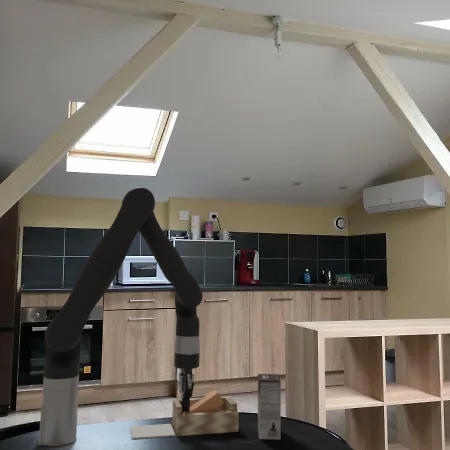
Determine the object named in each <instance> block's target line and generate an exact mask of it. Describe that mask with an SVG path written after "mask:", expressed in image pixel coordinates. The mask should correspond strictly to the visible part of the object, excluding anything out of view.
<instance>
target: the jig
mask: <svg viewBox="0 0 450 450" xmlns="http://www.w3.org/2000/svg"><path fill="white" fill-rule="evenodd" d="M220 397H221V399H222V400H223V402H224V403H223V404H221V405H220V406H219V407H217V408H216V409H214V410H213V411H211V412H206V413H189V414H182V412H183V411H182V398H176V399H175V398H174V399H172V414H171V415H172V420H171V426H172V428H173V430H174V433H175V436H177V437H179V436H180V437H183V436H195V435H209V434H224V433H225V434H226V433H236V432H239V419H240V416H239V414H240V413H239V411H238V402H237V401H235V400H234V399H233V398H232V397H231V396H230V395H229V396H220ZM202 398H203V397H196V398H195V397H193V398H190V406H192V405H193V404H195V403H196V402H198V401H199V400H201V399H202Z"/></svg>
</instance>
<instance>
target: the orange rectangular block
mask: <svg viewBox="0 0 450 450" xmlns="http://www.w3.org/2000/svg"><path fill="white" fill-rule="evenodd" d="M221 397H222V396H221V395H220V394H219V392H218V391H217V390H216V389H214V390H213V391H211V392H209V393H207V394H206V395H205V396H204V397H201V398H202V399H201V400H199V401H198V402H196V403H195V404H193V405H192V406H190V410H189V411H188V412H182V414H189V413H206V412H211V411H213V410H214V409H216V408H217V407H219V406H220V405H221V404H223V403H224V402H223V400H222V399H221Z"/></svg>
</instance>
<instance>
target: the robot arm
mask: <svg viewBox="0 0 450 450" xmlns="http://www.w3.org/2000/svg"><path fill="white" fill-rule="evenodd" d="M155 207H156V199H155V196H154V194H153V192H152V191H151V190H150V189H148V188H146V187H141V186H139V187H133V188H132V189H130V190H128V191H127V192H126V194H125V195H124V196H123V198H122V202H121V206H120V208H119V210H118V213H117V215H116V217H115V219H114V221H113V223H112V224H111V225H110V227H109V228H108V230H107V231H106V232H105V233H104V234H103V236H102V237H101V239H100V240H99V241H98V242H97V243H96V245H95V247H94V248H93V250H92V251H91V253H90V254H89V256H88V258H87V259H86V260H85V263H84V265H83V266H82V268H81V271H80V273H79V274H78V276H77V278H76V280H75V283H74V285H73V287H72V290H71V293H70V295H69V296H68V299H66V301H65V303H64V305H63V306H62V307H61V308H60V310H59V311H58V313H57V314H56V316H55V317H54V318H53V319H52V321H51V322H50V323H48V326H47V327H46V329H45V333H44V341H45V343H46V346H45V347H46V348H45V360H44V366H43V380H42V381H43V387H42V400H41V401H42V402H41V403H42V405H41V407H40V416H39V417H40V419H39V438H38V440H39V441H38V445H39V446H47V447H62V446H66V445H70V444H72V443H74V442H75V441H76V440H77V432H78V429H77V427H78V411H79V409H78V408H79V407H78V405H79V385H80V382H79V381H80V364H81V345H82V333H83V331H84V328H85V327H86V324H87V322H88V320H89V317H90V316H91V313H92V312H93V310H94V309H95V307H96V306H97V304H99V302H100V300H101V298H103V296H104V295H105V293H106V292H107V290H108V289H109V288H110V287H111V284H112V283H113V281H114V279H115V278H116V276H117V274H118V273H119V271H120V269H121V267H122V265H123V263H124V261H125V259H126V257H127V255H128V253H129V250H130V248H131V246H132V244H133V241H134V239H135V238H136V236H137V234H138V233H140V235H141V236H142V238H143V240H144V241H145V243H146V244H147V246H148V249H149V251H150V252H151V254H152V256H153V257H154V260H155V261H156V263H157V265H158V267H159V269H160V271H161V272H162V274H163V276H164V278H165V279H166V280H167V282H169V283H170V284H171V285H172V287H173V289H174V290H175V292H174V293H175V294H174V307H175V309H174V310H175V315H176V323H175V340H174V360H173V361H174V363H173V365H174V366H173V367H174V368H176V369H180V372H179V373H178V378H179V393H180V397H181V399H182V411H183V412H188V411H189V410H190V398H192V397H193V393H194V387H195V382H194V380H195V374H193V369H198V368H199V367H200V358H201V357H200V351H201V350H200V349H201V342H200V341H201V340H200V327H201V326H200V318H199V316H198V314H197V307H198V306H199V305H201V303H202V301H203V296H204V295H203V291H202V289H201V287H200V284H199V283H198V281H197V280H196V279H195V277H194V276H193V275H192V273H191V272H190V271H189V270H188V268H187V266H186V264H185V262H184V260H183V259H182V256H181V255H180V253H179V252H178V250H177V248H176V247H175V245H174V244H173V243H172V241H171V240H170V238H168V236H167V235H166V233H165V232H164V230H163V229H162V227H161V225H160V223H159V222H158V220H157V216H156V215H155V212H154V210H155Z"/></svg>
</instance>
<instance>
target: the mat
mask: <svg viewBox="0 0 450 450" xmlns="http://www.w3.org/2000/svg"><path fill="white" fill-rule="evenodd" d="M129 429H130V435H131V440H139V439H140V440H141V439H143V440H144V439H155V438H167V437H170V436H171V437H176V432H175V430H174V428H173V426H172V423H165V424H164V423H162V424H148V425H135V426H132V425H131V426H130V427H129Z"/></svg>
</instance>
